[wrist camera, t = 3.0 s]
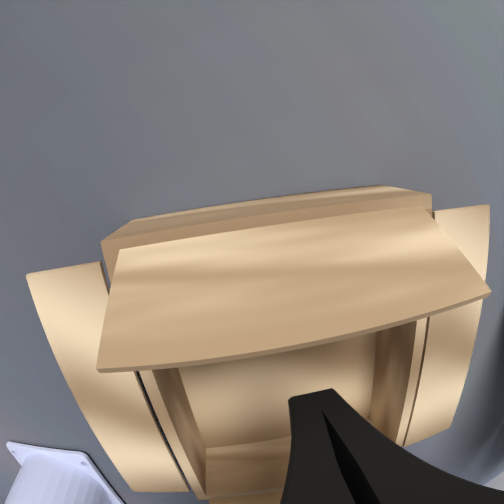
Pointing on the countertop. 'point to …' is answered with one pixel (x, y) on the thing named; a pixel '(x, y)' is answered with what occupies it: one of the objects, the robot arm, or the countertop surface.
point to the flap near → (280, 289)
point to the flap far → (251, 499)
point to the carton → (257, 359)
